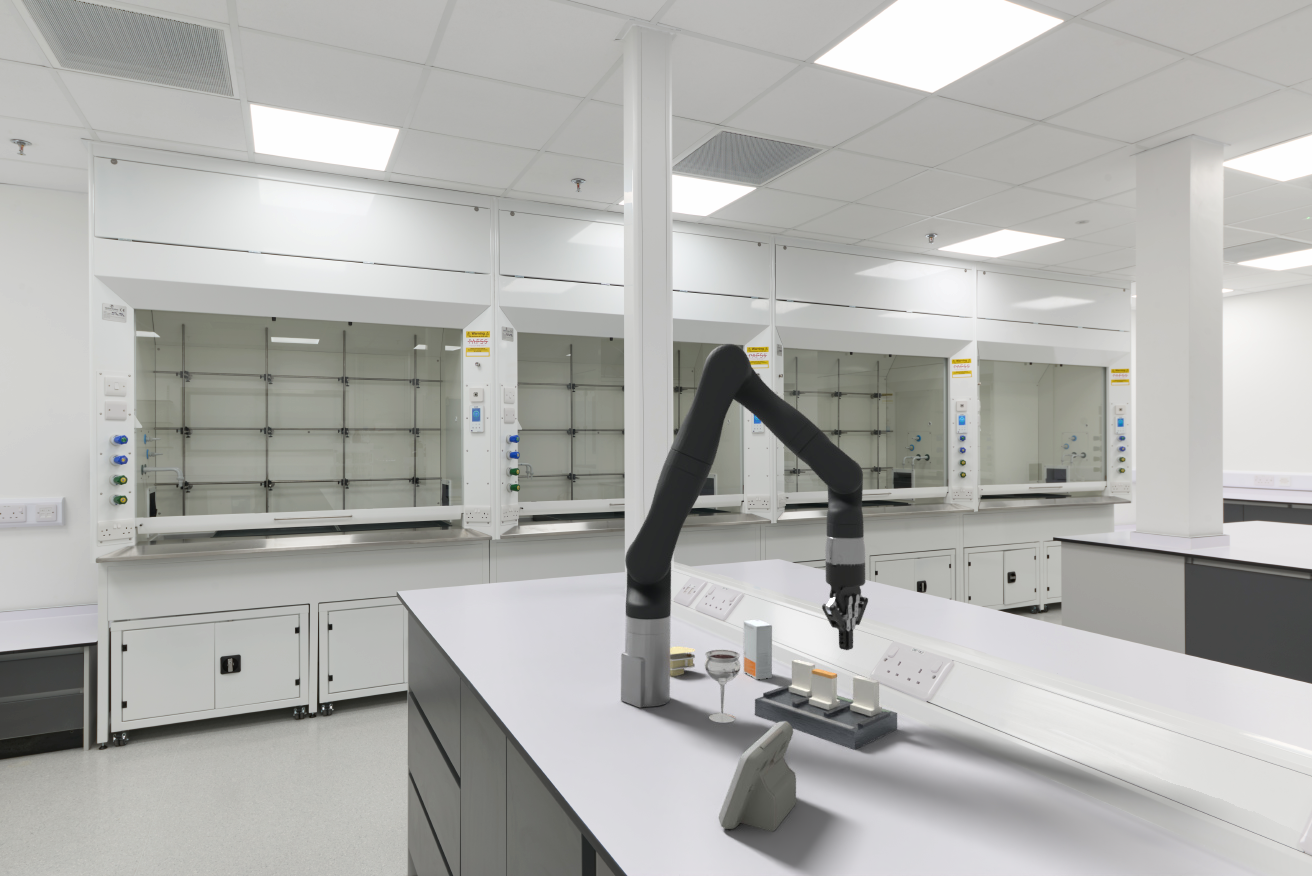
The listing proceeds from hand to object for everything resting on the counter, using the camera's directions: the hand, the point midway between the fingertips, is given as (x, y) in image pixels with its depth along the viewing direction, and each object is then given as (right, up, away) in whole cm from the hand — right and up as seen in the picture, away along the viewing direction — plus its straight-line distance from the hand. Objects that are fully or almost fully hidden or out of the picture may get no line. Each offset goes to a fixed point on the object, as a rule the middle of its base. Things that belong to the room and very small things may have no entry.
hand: (846, 648), depth 141 cm
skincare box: (-14, -13, +24) cm, 30 cm away
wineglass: (-25, -12, -4) cm, 28 cm away
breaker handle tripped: (-5, -9, -5) cm, 12 cm away
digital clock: (-23, -12, -39) cm, 47 cm away
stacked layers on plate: (-32, -13, +25) cm, 43 cm away
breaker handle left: (-8, -9, +2) cm, 12 cm away
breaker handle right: (+2, -9, -8) cm, 12 cm away
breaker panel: (-5, -12, -5) cm, 14 cm away
